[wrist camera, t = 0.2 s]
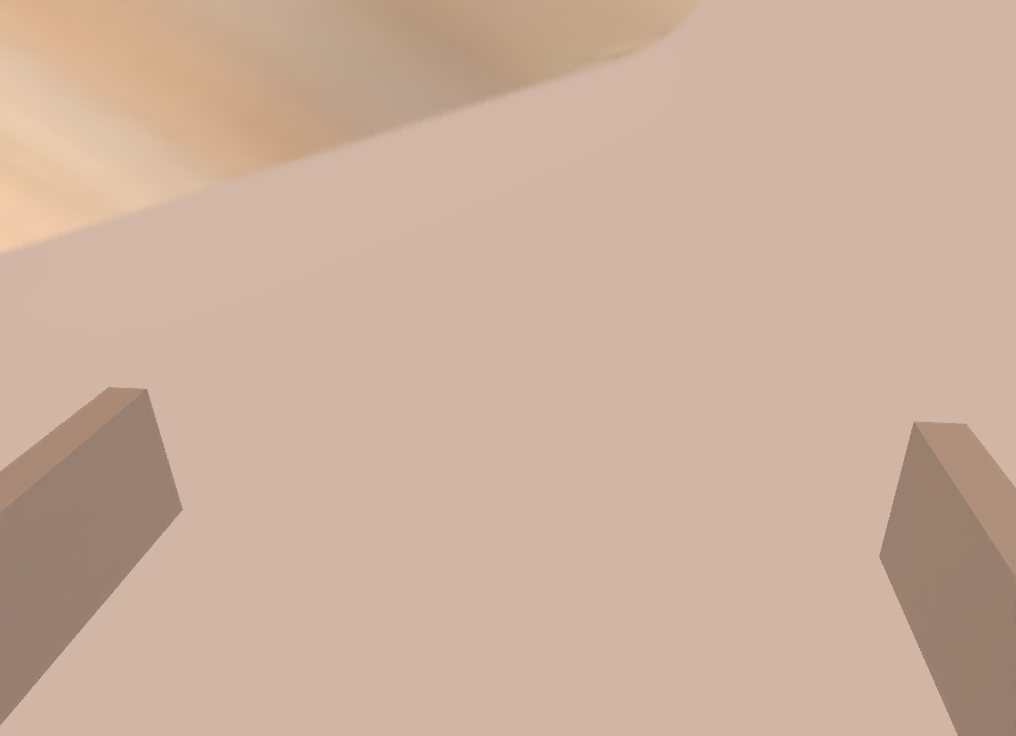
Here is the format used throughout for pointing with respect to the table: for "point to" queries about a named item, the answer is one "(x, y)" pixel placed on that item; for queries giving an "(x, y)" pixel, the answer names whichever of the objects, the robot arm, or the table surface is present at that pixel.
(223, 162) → the table surface
